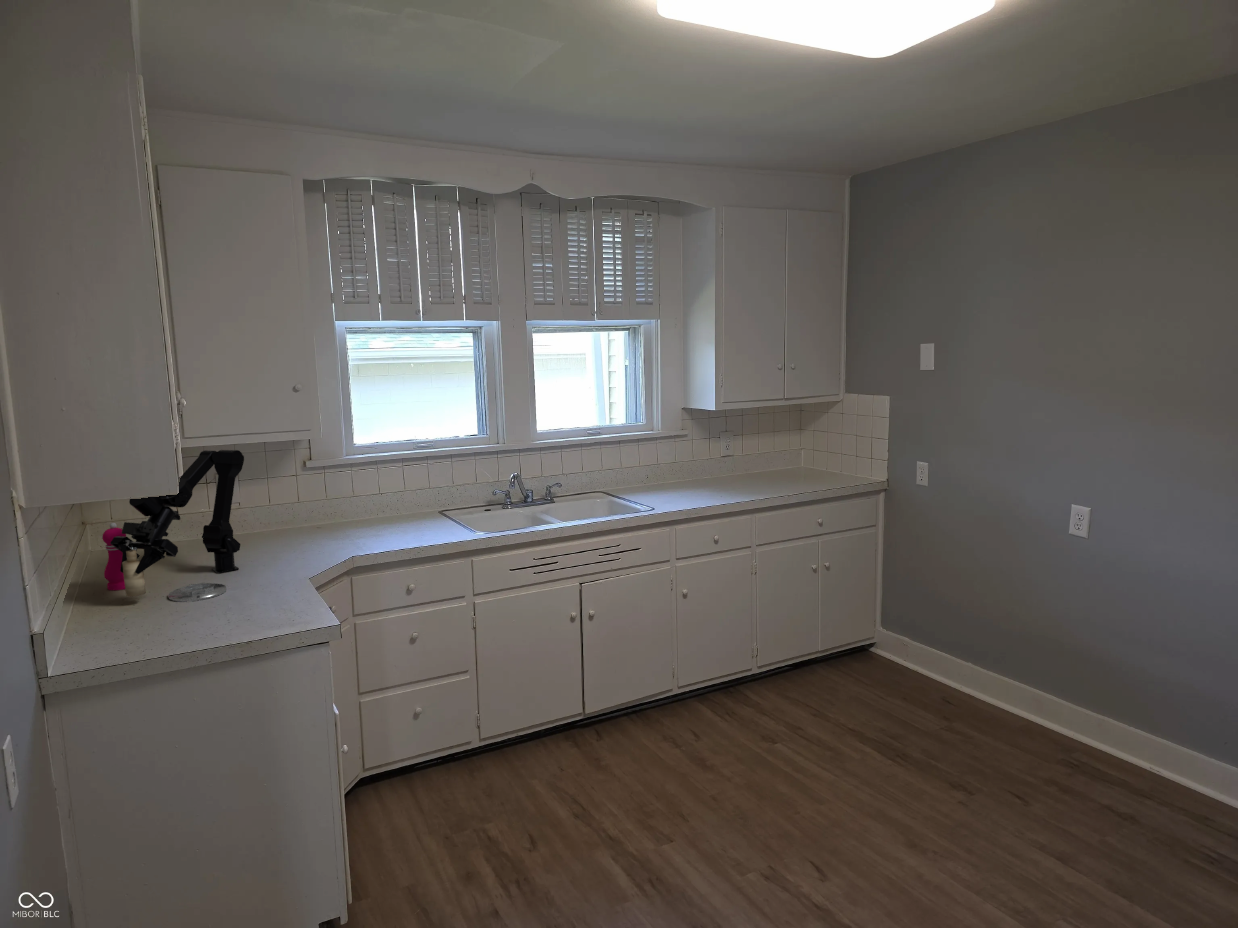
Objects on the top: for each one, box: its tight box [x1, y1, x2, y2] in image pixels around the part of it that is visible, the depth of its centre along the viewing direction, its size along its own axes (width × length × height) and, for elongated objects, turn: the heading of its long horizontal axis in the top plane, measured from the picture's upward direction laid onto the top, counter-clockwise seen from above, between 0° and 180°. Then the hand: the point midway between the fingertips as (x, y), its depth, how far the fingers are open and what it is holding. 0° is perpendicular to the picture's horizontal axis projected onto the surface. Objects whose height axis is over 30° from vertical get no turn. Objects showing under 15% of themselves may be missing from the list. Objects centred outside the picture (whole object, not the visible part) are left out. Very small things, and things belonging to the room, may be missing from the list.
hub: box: [167, 582, 227, 603], centre depth 230 cm, size 15×15×2 cm
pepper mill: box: [101, 522, 127, 591], centre depth 236 cm, size 7×7×20 cm
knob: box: [122, 550, 147, 598], centre depth 221 cm, size 5×5×13 cm
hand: (129, 572), depth 219 cm, fingers closed on knob, 5 cm apart
